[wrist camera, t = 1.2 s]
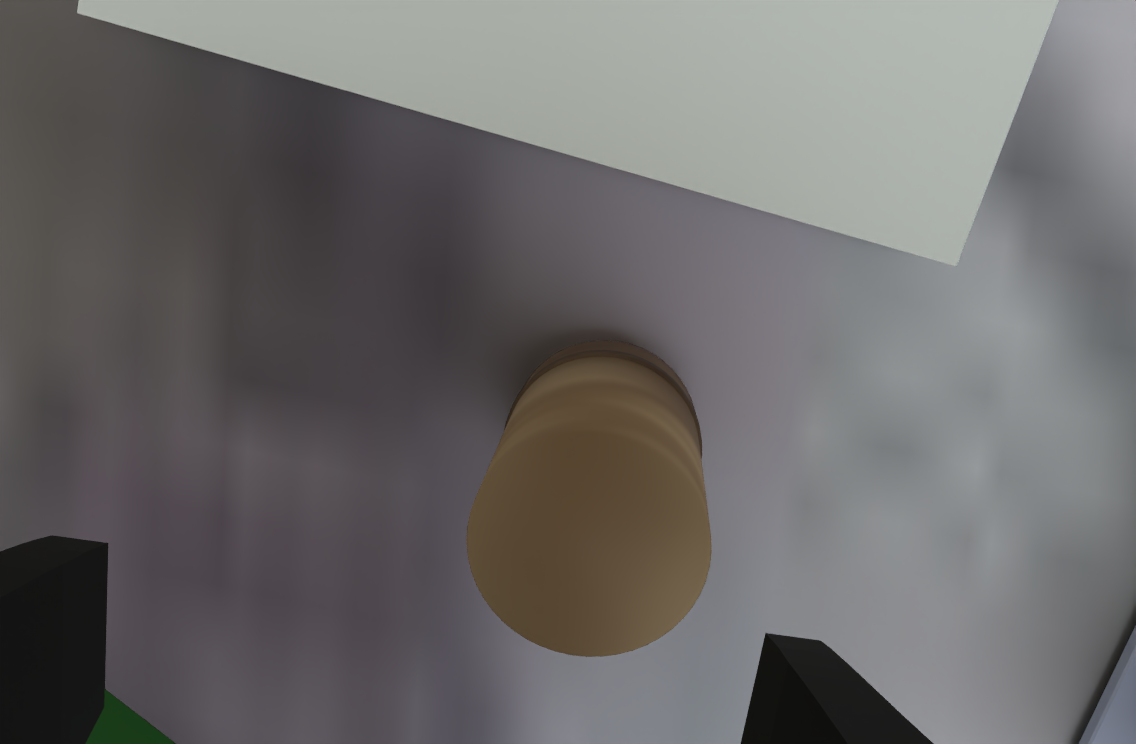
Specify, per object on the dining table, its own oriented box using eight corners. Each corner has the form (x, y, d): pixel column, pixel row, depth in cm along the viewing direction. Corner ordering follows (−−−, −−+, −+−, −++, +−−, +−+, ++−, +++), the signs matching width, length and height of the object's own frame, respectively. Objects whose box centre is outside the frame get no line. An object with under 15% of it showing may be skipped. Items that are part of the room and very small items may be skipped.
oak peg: (719, 349, 22) (749, 468, 15) (666, 509, 23) (672, 688, 16) (546, 299, 22) (498, 395, 15) (501, 461, 23) (438, 619, 16)
